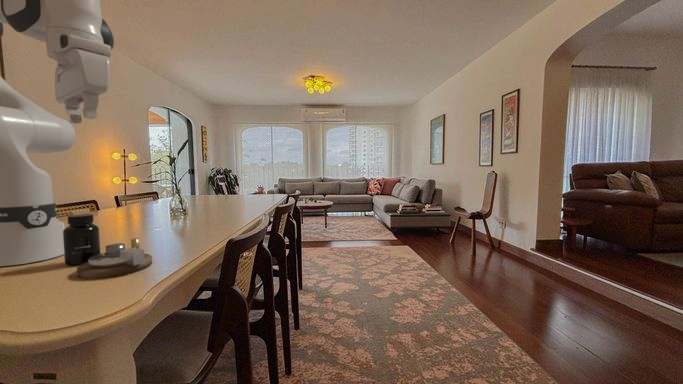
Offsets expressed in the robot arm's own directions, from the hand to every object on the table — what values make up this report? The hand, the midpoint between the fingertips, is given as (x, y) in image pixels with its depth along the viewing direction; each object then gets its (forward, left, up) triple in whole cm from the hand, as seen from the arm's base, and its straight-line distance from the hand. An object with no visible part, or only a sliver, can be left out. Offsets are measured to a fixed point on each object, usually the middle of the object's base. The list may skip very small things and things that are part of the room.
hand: (82, 120), depth 61 cm
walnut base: (-2, +6, -33) cm, 34 cm away
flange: (0, +6, -31) cm, 32 cm away
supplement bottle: (-15, +6, -34) cm, 37 cm away
